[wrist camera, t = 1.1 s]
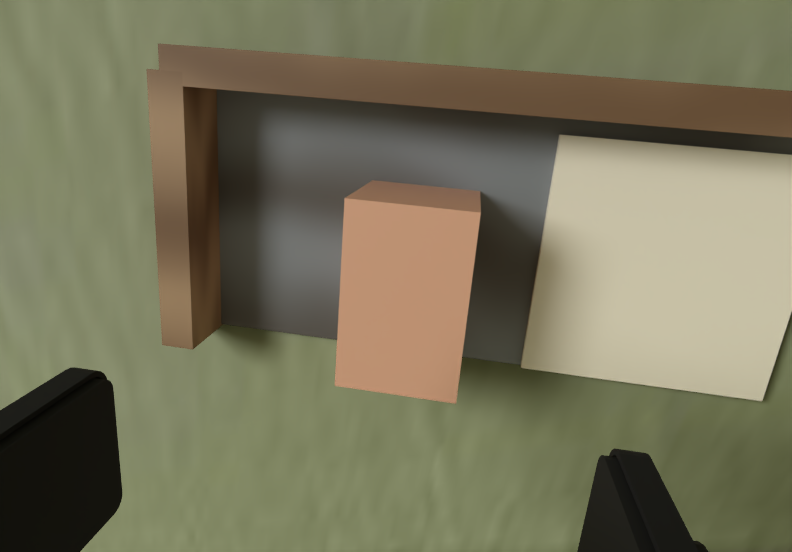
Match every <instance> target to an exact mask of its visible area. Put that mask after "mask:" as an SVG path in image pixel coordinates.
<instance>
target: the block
mask: <svg viewBox="0 0 792 552" xmlns="http://www.w3.org/2000/svg"><path fill="white" fill-rule="evenodd" d="M480 216H481V199H480V191H474V190H464V189H454V188H444V187H434V186H424V185H415V184H405V183H395V182H385V181H375V180H372V181H371V182H369V183H368V184H366V185H364V186H363V187H361V188H360V189H358V190H357V191H355V192H353V193H352V194H350V195H349V196H347V197H346V198H345V199H344V218H343V238H342V257H341V276H340V296H339V315H338V334H337V354H336V373H335V386H340V387H347V388H354V389H361V390H367V391H374V392H381V393H388V394H395V395H401V396H408V397H415V398H422V399H428V400H435V401H442V402H449V403H455V404H456V400H457V392H458V384H459V377H460V369H461V361H462V354H463V346H464V338H465V331H466V323H467V315H468V308H469V300H470V292H471V285H472V277H473V269H474V262H475V254H476V246H477V239H478V231H479V223H480Z"/></svg>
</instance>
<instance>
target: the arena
mask: <svg viewBox="0 0 792 552" xmlns="http://www.w3.org/2000/svg"><path fill="white" fill-rule="evenodd" d="M158 55H159V70H153V69H147V85H148V102H149V120H150V137H151V155H152V172H153V190H154V208H155V225H156V243H157V260H158V278H159V295H160V313H161V331H162V345H166V346H173V347H180V348H187V349H194V348H195V347H196V346H197V345H199V344H200V343H201V342H202V341H203V340H205V339H206V338H207V337H208V336H210V335H211V334H212V333H213V332H214V331H216V330H217V329H218V328H219V327H220V326H222V325H223V324H227V325H234V326H241V327H249V328H256V329H263V330H270V331H278V332H285V333H292V334H300V335H307V336H314V337H321V338H329V339H336V340H337V334H338V315H339V296H340V276H341V257H342V238H343V218H344V199H345V198H346V197H347V196H349V195H350V194H352V193H353V192H355V191H357V190H358V189H360V188H361V187H363V186H364V185H366V184H368V183H369V182H371V181H372V180H375V181H385V182H395V183H405V184H415V185H424V186H434V187H444V188H454V189H464V190H474V191H480V199H481V216H480V223H479V231H478V239H477V246H476V254H475V262H474V269H473V277H472V285H471V292H470V300H469V308H468V315H467V323H466V331H465V338H464V346H463V354H462V357H467V358H474V359H481V360H489V361H496V362H503V363H511V364H518V365H521V359H522V353H523V347H524V341H525V335H526V330H527V324H528V318H529V312H530V306H531V300H532V294H533V288H534V282H535V276H536V270H537V264H538V258H539V252H540V246H541V240H542V234H543V228H544V222H545V216H546V210H547V204H548V198H549V192H550V186H551V180H552V175H553V169H554V163H555V157H556V151H557V145H558V139H559V134H560V135H572V136H583V137H594V138H606V139H617V140H629V141H640V142H651V143H663V144H674V145H686V146H697V147H708V148H720V149H731V150H743V151H754V152H765V153H777V154H788V155H792V91H784V90H771V89H758V88H744V87H731V86H717V85H704V84H691V83H677V82H664V81H651V80H637V79H624V78H611V77H597V76H584V75H571V74H557V73H544V72H531V71H517V70H504V69H491V68H477V67H464V66H451V65H437V64H424V63H410V62H397V61H384V60H370V59H357V58H344V57H330V56H317V55H304V54H290V53H277V52H264V51H250V50H237V49H224V48H210V47H197V46H184V45H170V44H158ZM764 135H765V136H764ZM776 136H778V137H776ZM788 137H791V138H788ZM791 313H792V312H791ZM790 316H791V315H790ZM789 319H790V318H789ZM788 323H789V321H788ZM787 326H788V324H787ZM786 329H787V327H786ZM785 332H786V330H785ZM784 335H785V333H784ZM783 338H784V336H783ZM782 341H783V339H782ZM781 344H782V342H781ZM780 347H781V345H780ZM779 350H780V348H779ZM778 353H779V351H778ZM777 356H778V355H777ZM776 359H777V358H776ZM775 362H776V361H775ZM774 365H775V364H774ZM773 368H774V367H773ZM772 371H773V370H772ZM771 374H772V373H771ZM770 377H771V376H770ZM769 381H770V379H769ZM768 384H769V382H768ZM767 387H768V385H767ZM766 390H767V388H766ZM765 393H766V391H765ZM764 396H765V394H764ZM763 398H764V397H763Z"/></svg>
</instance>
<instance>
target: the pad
mask: <svg viewBox="0 0 792 552" xmlns="http://www.w3.org/2000/svg"><path fill="white" fill-rule="evenodd" d="M791 312H792V155H788V154H777V153H765V152H754V151H743V150H731V149H720V148H708V147H697V146H686V145H674V144H663V143H651V142H640V141H629V140H617V139H606V138H594V137H583V136H572V135H560V134H559V139H558V145H557V151H556V157H555V163H554V169H553V175H552V180H551V186H550V192H549V198H548V204H547V210H546V216H545V222H544V228H543V234H542V240H541V246H540V252H539V258H538V264H537V270H536V276H535V282H534V288H533V294H532V300H531V306H530V312H529V318H528V324H527V330H526V335H525V341H524V347H523V353H522V359H521V368H525V369H533V370H540V371H547V372H554V373H562V374H569V375H576V376H583V377H591V378H598V379H605V380H612V381H620V382H627V383H634V384H641V385H649V386H656V387H663V388H670V389H678V390H685V391H692V392H699V393H707V394H714V395H721V396H728V397H735V398H743V399H750V400H757V401H762V400H763V397H764V394H765V391H766V388H767V385H768V382H769V379H770V376H771V373H772V370H773V367H774V364H775V361H776V358H777V355H778V351H779V348H780V345H781V342H782V339H783V336H784V333H785V330H786V327H787V324H788V321H789V318H790V315H791Z"/></svg>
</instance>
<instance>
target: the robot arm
mask: <svg viewBox="0 0 792 552" xmlns="http://www.w3.org/2000/svg"><path fill="white" fill-rule="evenodd" d="M121 499H122V484H121V473H120V461H119V450H118V438H117V427H116V415H115V404H114V392H113V385H112V383H111V382H110V381H109V380H107V378H106V376H105V374H104V373H102V372H101V371H94V370H88V369H81V368H69V369H67V370H65V371H63V372H62V373H60V374H59V375H57V376H55V377H54V378H52V379H50V380H49V381H47V382H46V383H44V384H42V385H41V386H39V387H37V388H36V389H34V390H33V391H31V392H29V393H28V394H26V395H25V396H23V397H21V398H20V399H18V400H16V401H15V402H13V403H12V404H10V405H8V406H7V407H5V408H3V409H2V410H0V552H80V551H81V550H82V549H83V548H84V547H85V546H86V544H87V543H88V542H89V541H90V540H91V539H92V538H93V537H94V536H95V535H96V533H97V532H98V531H99V530H100V529H101V528H102V527H103V526H104V525H105V524H106V523H107V521H108V520H109V519H110V518H111V517H112V516H113V515H114V514H115V512H116V511H117V509H118V507H119V505H120V503H121ZM577 552H708V550H707V549H706V547H705V546H704V545H703V544H701V543H700V542H698V541H693V540H692V538H691V536H690V534H689V532H688V530H687V528H686V526H685V524H684V522H683V520H682V518H681V516H680V514H679V512H678V510H677V508H676V506H675V504H674V502H673V500H672V498H671V496H670V495H669V493H668V491H667V489H666V487H665V485H664V483H663V481H662V479H661V477H660V475H659V473H658V471H657V469H656V467H655V465H654V463H653V461H652V459H651V457H650V456H649V455H648V454H646V453H641V452H634V451H627V450H621V449H613V450H612V451H611V453H610V455H609V456H604V455H601V456H600V457H599V460H598V463H597V467H596V472H595V476H594V481H593V485H592V489H591V494H590V498H589V503H588V507H587V512H586V516H585V520H584V525H583V529H582V534H581V538H580V543H579V547H578V551H577Z"/></svg>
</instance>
